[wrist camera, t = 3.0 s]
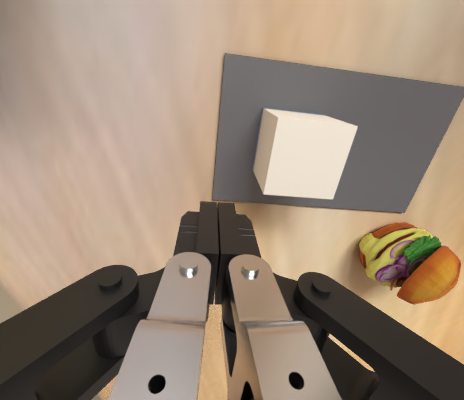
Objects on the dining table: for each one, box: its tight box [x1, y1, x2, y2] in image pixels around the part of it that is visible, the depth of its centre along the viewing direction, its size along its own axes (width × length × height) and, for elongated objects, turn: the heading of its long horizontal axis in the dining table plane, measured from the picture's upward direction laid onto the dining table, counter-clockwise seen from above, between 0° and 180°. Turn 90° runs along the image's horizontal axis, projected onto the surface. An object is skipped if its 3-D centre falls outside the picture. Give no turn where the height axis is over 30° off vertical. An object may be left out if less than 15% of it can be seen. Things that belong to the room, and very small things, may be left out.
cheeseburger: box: [359, 223, 461, 304], centre depth 33 cm, size 10×11×10 cm
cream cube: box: [253, 108, 358, 199], centre depth 25 cm, size 7×7×7 cm
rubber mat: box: [212, 53, 464, 213], centre depth 28 cm, size 27×16×1 cm, turn 84°
